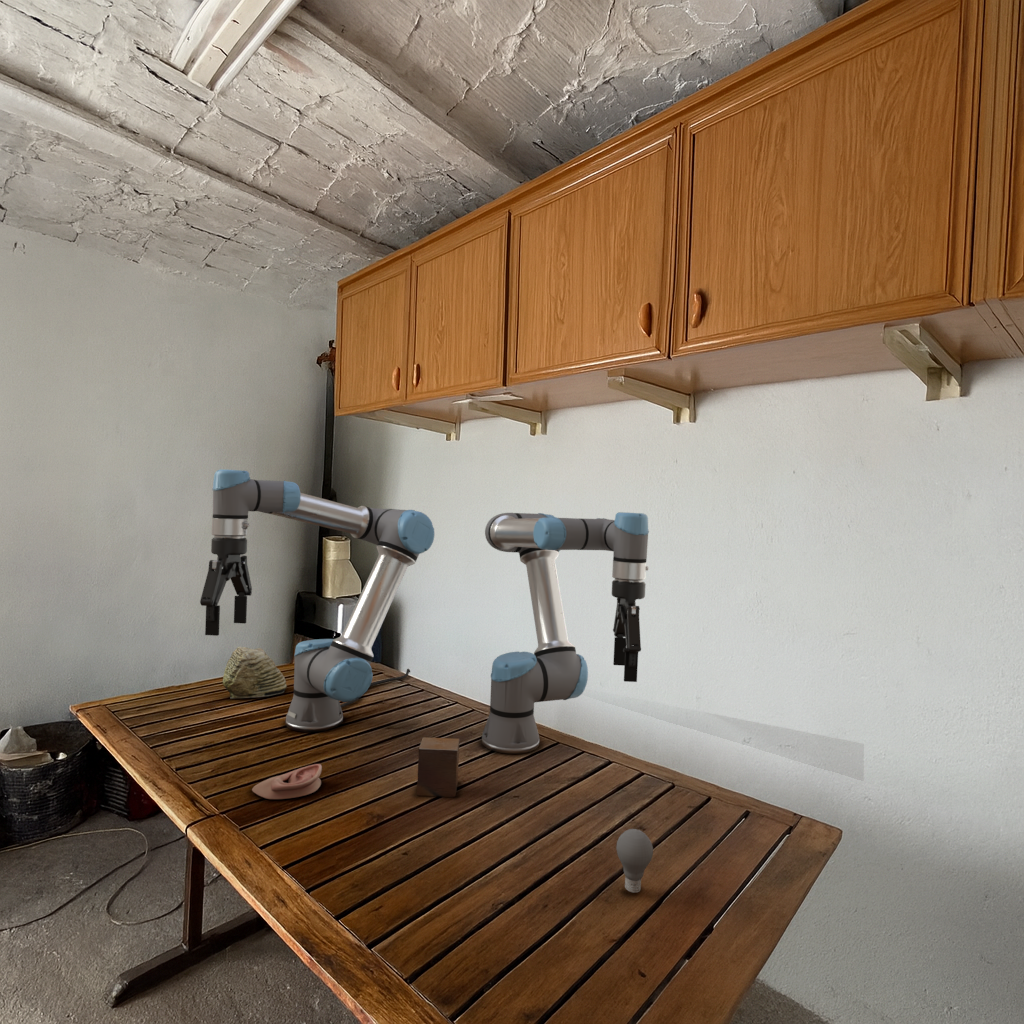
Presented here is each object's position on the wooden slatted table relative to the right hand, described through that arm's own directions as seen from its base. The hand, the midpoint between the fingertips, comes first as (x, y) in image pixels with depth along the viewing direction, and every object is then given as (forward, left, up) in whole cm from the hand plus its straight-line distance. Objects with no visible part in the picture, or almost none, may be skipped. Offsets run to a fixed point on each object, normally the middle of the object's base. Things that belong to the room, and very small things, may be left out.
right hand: (624, 672), depth 145 cm
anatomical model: (+43, -60, -26) cm, 78 cm away
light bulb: (+37, +15, -26) cm, 47 cm away
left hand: (+44, -81, +6) cm, 92 cm away
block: (+25, -33, -26) cm, 49 cm away
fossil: (+5, -118, -26) cm, 121 cm away
